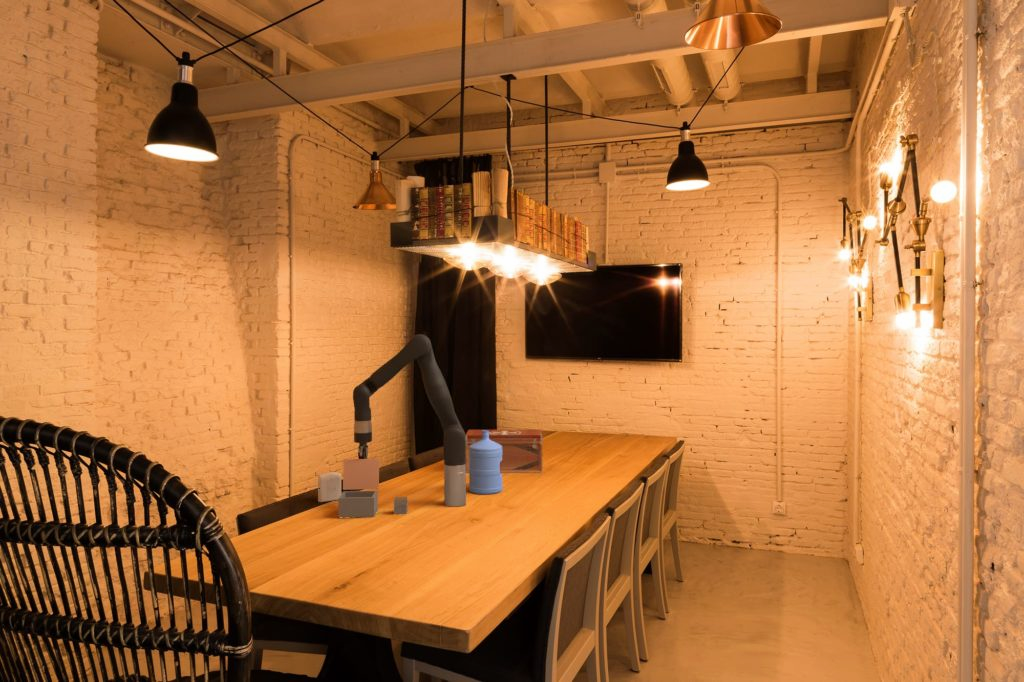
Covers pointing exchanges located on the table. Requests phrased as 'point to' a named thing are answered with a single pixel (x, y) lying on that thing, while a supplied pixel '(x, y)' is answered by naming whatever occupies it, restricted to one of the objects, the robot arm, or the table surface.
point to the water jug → (485, 466)
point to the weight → (400, 505)
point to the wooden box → (513, 449)
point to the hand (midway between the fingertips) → (363, 471)
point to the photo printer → (329, 486)
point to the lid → (361, 474)
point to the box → (358, 504)
